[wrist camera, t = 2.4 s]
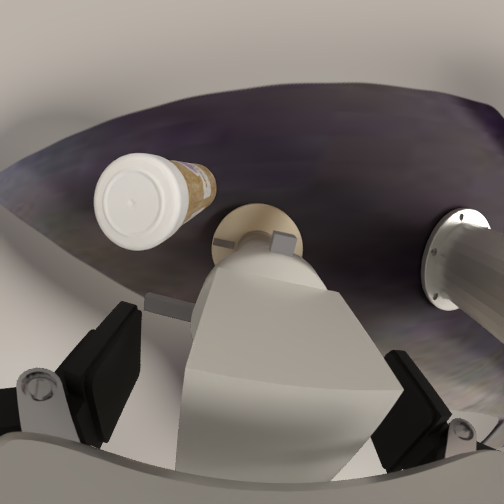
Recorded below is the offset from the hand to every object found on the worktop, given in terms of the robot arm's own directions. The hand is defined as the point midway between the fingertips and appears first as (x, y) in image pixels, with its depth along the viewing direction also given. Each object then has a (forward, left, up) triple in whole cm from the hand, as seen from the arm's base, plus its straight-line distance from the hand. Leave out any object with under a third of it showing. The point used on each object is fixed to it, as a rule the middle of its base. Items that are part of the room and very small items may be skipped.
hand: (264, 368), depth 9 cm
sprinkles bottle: (+7, -4, -17) cm, 19 cm away
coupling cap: (+1, 0, -5) cm, 5 cm away
